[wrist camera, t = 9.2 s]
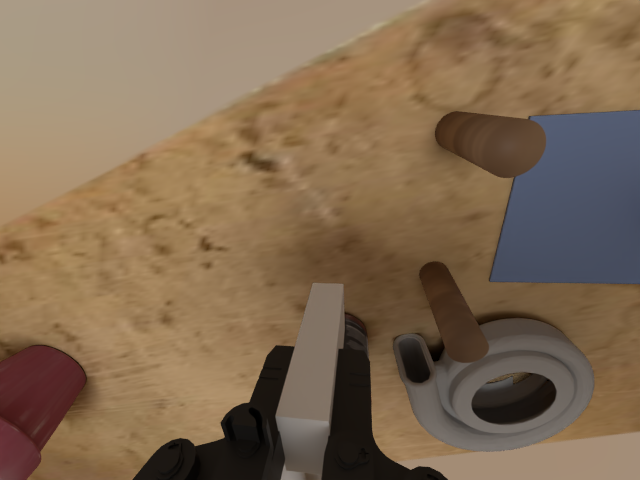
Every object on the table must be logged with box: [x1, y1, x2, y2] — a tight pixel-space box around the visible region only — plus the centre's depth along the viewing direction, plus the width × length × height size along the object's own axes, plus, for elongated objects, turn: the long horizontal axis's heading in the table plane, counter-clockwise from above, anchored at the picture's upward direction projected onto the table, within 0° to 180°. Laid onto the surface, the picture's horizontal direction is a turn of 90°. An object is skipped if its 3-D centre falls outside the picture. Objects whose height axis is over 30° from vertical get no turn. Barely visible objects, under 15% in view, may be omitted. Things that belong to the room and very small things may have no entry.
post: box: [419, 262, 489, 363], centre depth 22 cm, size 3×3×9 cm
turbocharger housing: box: [393, 318, 594, 452], centre depth 29 cm, size 17×6×15 cm
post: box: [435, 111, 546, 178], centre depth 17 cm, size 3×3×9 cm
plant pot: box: [0, 345, 86, 480], centre depth 35 cm, size 14×14×13 cm
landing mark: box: [489, 110, 640, 284], centre depth 22 cm, size 14×14×1 cm
